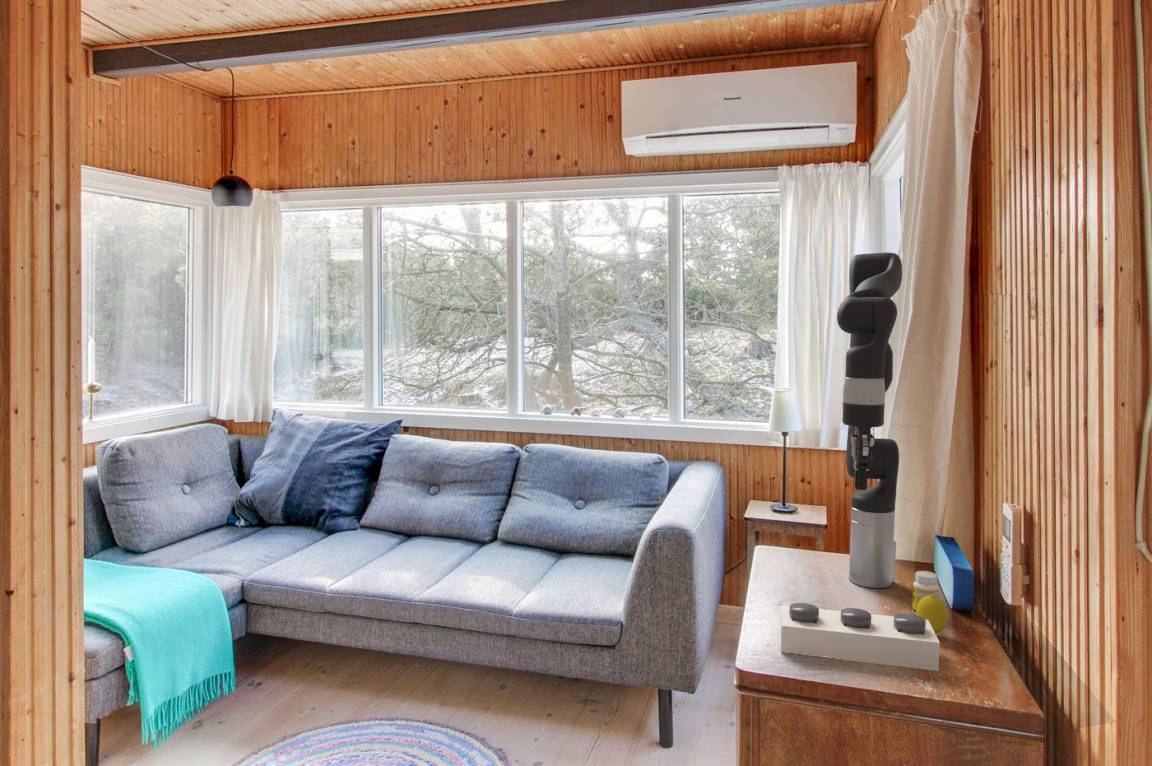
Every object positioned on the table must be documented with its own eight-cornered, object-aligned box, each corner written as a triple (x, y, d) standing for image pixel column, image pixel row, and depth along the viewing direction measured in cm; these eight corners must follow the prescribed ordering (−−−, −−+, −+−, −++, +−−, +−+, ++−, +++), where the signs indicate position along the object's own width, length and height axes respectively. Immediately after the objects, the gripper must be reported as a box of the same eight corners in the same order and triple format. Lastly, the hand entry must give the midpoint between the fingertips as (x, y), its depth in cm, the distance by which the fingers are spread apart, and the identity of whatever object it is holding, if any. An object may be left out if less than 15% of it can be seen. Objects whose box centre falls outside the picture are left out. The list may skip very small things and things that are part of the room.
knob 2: (895, 653, 129) (896, 623, 128) (890, 641, 134) (891, 611, 133) (927, 656, 127) (928, 626, 127) (921, 644, 132) (922, 615, 132)
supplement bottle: (915, 607, 153) (917, 568, 152) (940, 613, 150) (942, 573, 149) (909, 614, 149) (910, 574, 148) (934, 620, 146) (936, 579, 145)
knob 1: (788, 641, 134) (789, 612, 133) (788, 629, 139) (789, 601, 138) (818, 644, 132) (819, 615, 132) (817, 632, 137) (818, 604, 137)
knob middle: (841, 647, 131) (842, 617, 131) (838, 635, 136) (839, 606, 136) (872, 650, 130) (873, 620, 129) (868, 638, 135) (869, 609, 134)
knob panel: (780, 652, 132) (781, 625, 131) (780, 630, 141) (781, 605, 141) (938, 671, 125) (939, 642, 125) (926, 646, 135) (928, 619, 134)
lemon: (929, 643, 136) (931, 601, 135) (908, 631, 141) (910, 590, 140) (954, 640, 137) (956, 598, 137) (932, 628, 143) (934, 588, 142)
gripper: (889, 405, 134) (886, 498, 135) (879, 398, 147) (876, 483, 148) (846, 403, 136) (843, 495, 137) (840, 396, 149) (837, 480, 150)
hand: (860, 488), depth 143 cm, fingers closed
